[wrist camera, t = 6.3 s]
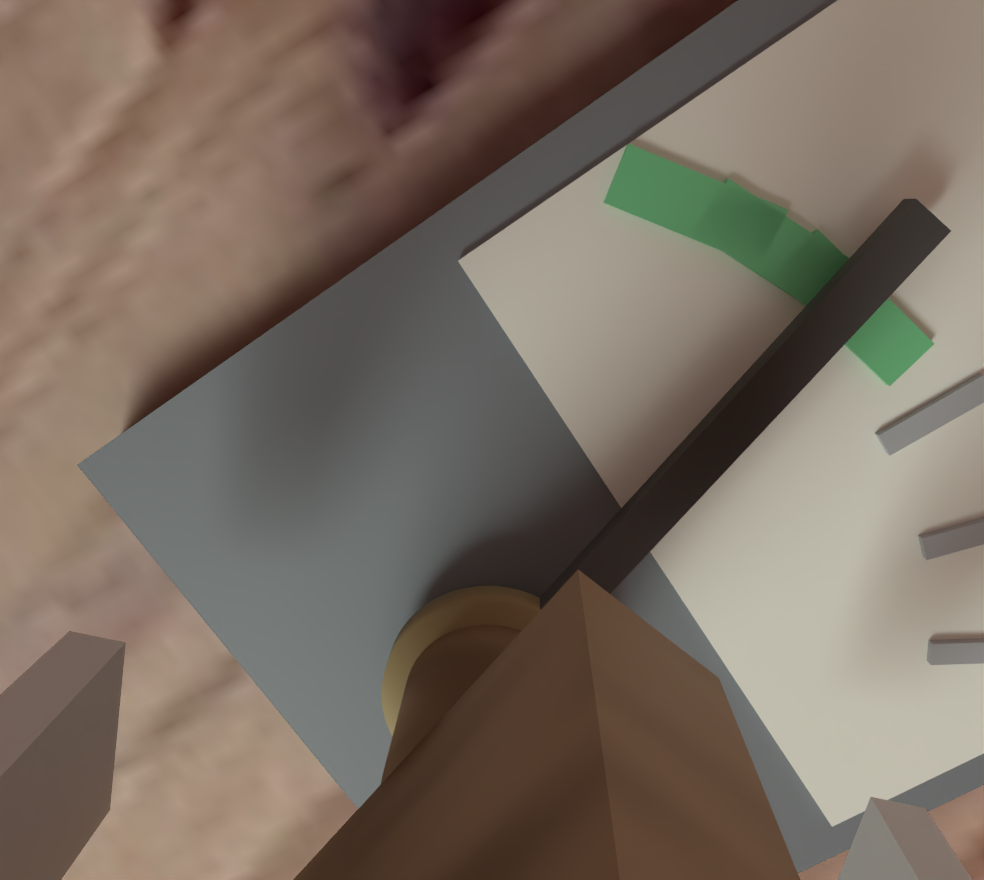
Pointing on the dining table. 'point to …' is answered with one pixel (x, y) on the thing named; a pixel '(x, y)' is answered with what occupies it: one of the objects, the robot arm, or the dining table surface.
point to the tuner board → (635, 414)
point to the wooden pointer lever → (597, 678)
